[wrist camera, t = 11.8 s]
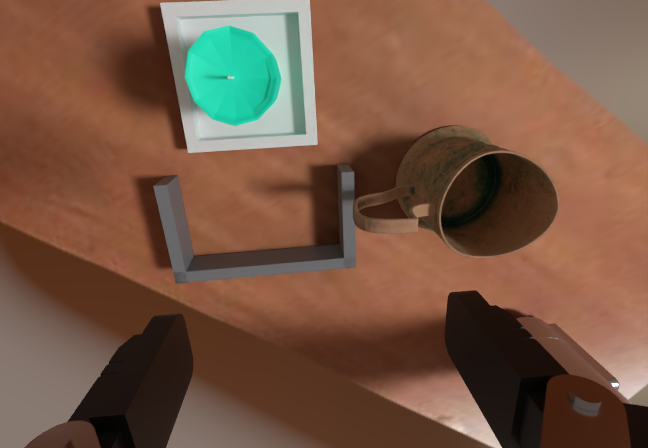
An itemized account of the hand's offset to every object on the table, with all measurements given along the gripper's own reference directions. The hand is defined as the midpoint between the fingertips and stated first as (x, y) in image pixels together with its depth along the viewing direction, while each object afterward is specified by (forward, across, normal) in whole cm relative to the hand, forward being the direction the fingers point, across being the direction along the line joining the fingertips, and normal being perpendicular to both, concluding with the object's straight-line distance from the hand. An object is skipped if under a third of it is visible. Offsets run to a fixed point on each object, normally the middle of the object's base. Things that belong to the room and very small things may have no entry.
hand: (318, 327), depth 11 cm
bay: (+28, +5, +5) cm, 28 cm away
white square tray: (+27, +5, -8) cm, 29 cm away
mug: (+28, -12, +3) cm, 31 cm away
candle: (+27, +4, -8) cm, 28 cm away
